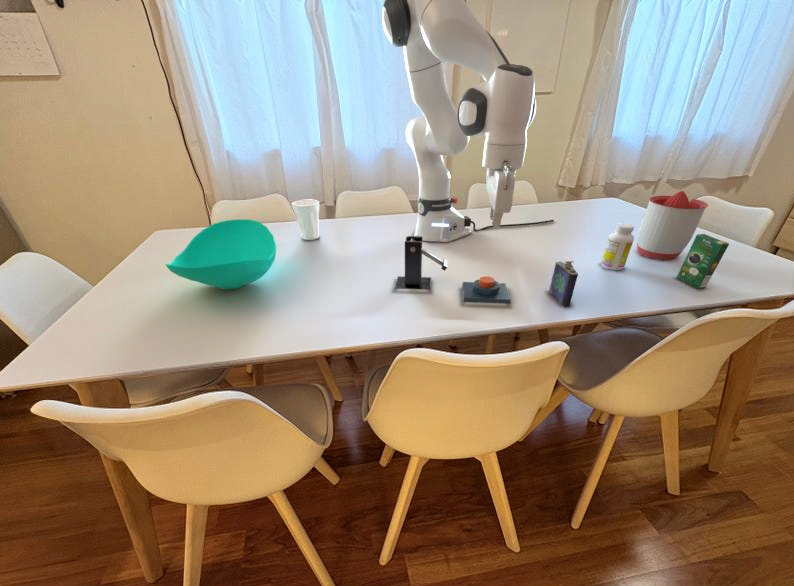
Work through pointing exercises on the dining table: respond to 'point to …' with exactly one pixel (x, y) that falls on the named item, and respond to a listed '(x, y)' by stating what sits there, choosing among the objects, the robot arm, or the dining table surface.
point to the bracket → (413, 266)
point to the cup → (307, 217)
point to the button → (486, 282)
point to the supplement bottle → (618, 247)
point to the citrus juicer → (669, 225)
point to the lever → (434, 258)
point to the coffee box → (702, 260)
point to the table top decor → (227, 254)
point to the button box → (485, 293)
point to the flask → (563, 282)
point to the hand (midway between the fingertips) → (494, 222)
